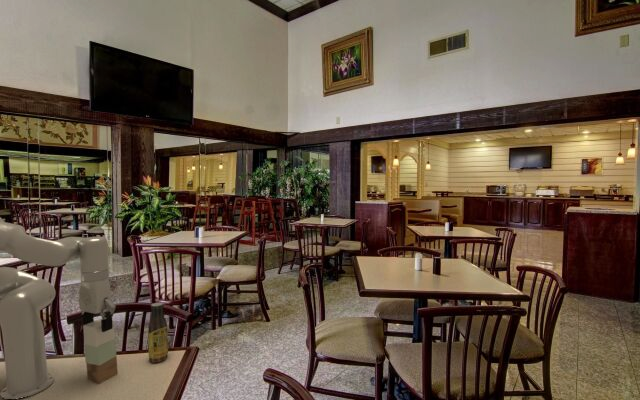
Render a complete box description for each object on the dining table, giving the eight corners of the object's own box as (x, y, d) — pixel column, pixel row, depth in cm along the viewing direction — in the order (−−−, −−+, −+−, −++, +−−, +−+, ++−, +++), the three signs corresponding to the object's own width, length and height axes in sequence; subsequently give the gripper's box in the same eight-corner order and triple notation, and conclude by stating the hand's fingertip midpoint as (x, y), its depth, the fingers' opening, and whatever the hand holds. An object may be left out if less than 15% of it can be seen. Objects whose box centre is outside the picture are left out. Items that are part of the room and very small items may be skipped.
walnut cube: (87, 380, 109) (86, 361, 108) (106, 370, 114) (105, 353, 114) (99, 384, 106) (97, 365, 106) (117, 374, 111) (116, 356, 111)
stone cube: (84, 343, 108) (83, 325, 108) (103, 335, 113) (102, 318, 113) (96, 347, 105) (94, 328, 105) (114, 338, 111) (113, 320, 110)
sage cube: (85, 362, 108) (84, 344, 107) (103, 353, 113) (101, 336, 113) (99, 365, 106) (98, 346, 105) (116, 356, 111) (115, 338, 111)
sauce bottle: (154, 365, 116) (150, 309, 115) (145, 360, 119) (142, 305, 118) (172, 357, 121) (169, 303, 120) (163, 352, 125) (160, 300, 124)
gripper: (66, 275, 109) (69, 327, 109) (100, 281, 101) (102, 337, 102) (90, 270, 115) (93, 319, 116) (123, 275, 108) (126, 327, 109)
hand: (97, 327), depth 109 cm, fingers open, 9 cm apart
